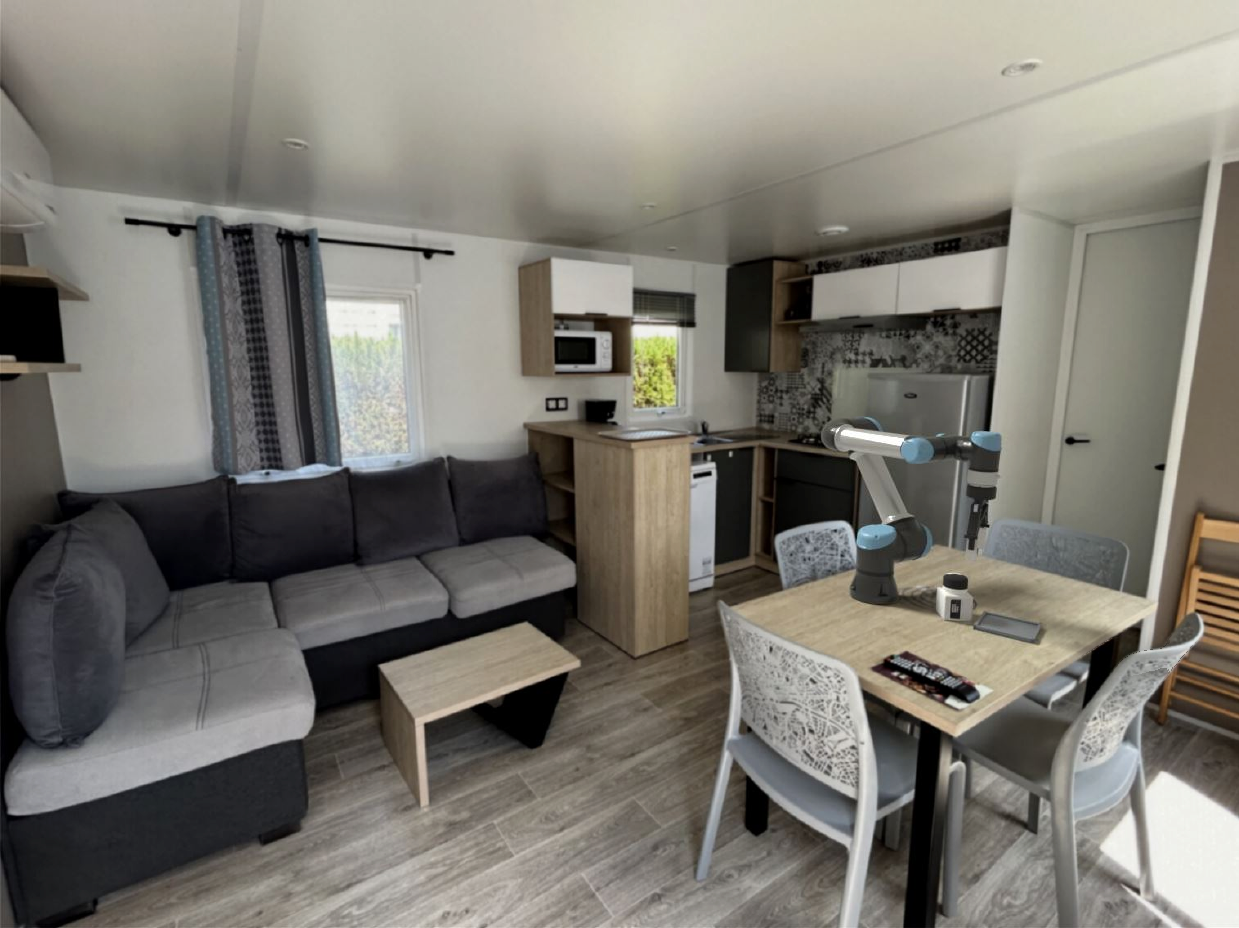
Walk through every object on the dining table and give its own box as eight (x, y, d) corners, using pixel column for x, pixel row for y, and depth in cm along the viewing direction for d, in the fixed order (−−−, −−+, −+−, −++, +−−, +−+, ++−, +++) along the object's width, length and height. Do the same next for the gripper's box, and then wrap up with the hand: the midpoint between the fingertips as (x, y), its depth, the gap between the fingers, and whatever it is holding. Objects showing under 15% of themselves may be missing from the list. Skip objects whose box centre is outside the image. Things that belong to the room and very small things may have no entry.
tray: (973, 629, 169) (973, 625, 169) (983, 614, 178) (984, 610, 178) (1033, 644, 159) (1034, 639, 159) (1041, 627, 169) (1042, 623, 169)
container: (972, 622, 174) (975, 580, 172) (943, 620, 175) (946, 578, 173) (962, 611, 181) (965, 571, 179) (935, 610, 183) (937, 570, 181)
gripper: (989, 494, 159) (982, 568, 163) (1003, 479, 178) (996, 546, 182) (958, 490, 164) (951, 562, 168) (975, 476, 183) (968, 541, 187)
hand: (974, 554), depth 175 cm, fingers open, 13 cm apart
